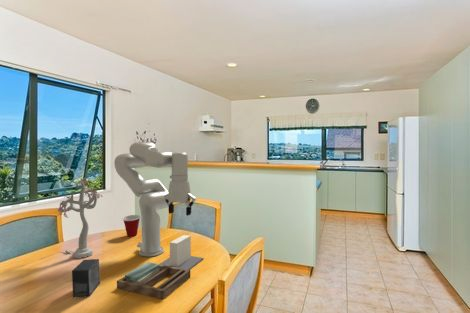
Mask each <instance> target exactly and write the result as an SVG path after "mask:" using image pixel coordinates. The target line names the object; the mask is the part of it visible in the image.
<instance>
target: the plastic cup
mask: <svg viewBox="0 0 470 313" xmlns="http://www.w3.org/2000/svg"><path fill="white" fill-rule="evenodd" d="M121 219H122V221H123V223H124V227H125V231H126V232H125V233H126V236H127V238H133V237H137V235H138V230H139V223H140V219H141V215H139V214H129V215H125V216H123V217H122V218H121Z"/></svg>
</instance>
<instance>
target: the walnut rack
mask: <svg viewBox="0 0 470 313" xmlns="http://www.w3.org/2000/svg"><path fill="white" fill-rule="evenodd" d="M159 267H160V272H159V273H157V274H156V275H154V276H153V277H151V278H150V279H148V280H147V281H145V282H144V283H142V284H137V283H132V282H128V281H127V279H125V276H123V277H122V278H120V279H118V280H117V281H116V289H119V290H123V291H126V292H129V293H130V292H131V293H135V294H138V295H139V294H140V295H144V296H148V297H154V298H156V299H157V298H158V299H160V300H161V299H162V300H164V299H166V298H167V297H168V296H169V295H171V294H172V293H173V292H174V291H176V290H177V289H178V288H179V287H180V286H181V285H183V283H185V282H186V281H187V280H189V279H190V278H191V269H190V270H187V269H181V268H176V267H170V266H165V265H159ZM169 275H171V276H170V277H169V278H168V279H166V280H165V281H163V282H162V283H161V284H159V285H157V283H159V282H160V281H162V280H164V278H166V277H168V276H169ZM155 285H157V287H155Z"/></svg>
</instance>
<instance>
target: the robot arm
mask: <svg viewBox="0 0 470 313" xmlns="http://www.w3.org/2000/svg"><path fill="white" fill-rule="evenodd" d="M188 160H189V158H188V153H187V152H178V151H177V152H176V151H158V149H157V146H156V145H155V143H153V142H150V141H149V142H148V141H147V142H145V141H137V142H133V143H132V144H131V145H130V146H129V153H122V154H119V155H117V156H116V157H115V159H114V162H113V163H114V168H115V172H116V173H117V174H118V176H119V177H120V178H121V179H122V180H123V181H124V182H125V183H126V185H127V186H128V187H129V189H130V190H131V191H132V193H133V194H134V196H136V197H138V198H139V200H138V206H139V209H140V210H139V211H140V219H141V222H140V223H141V242H138V243H137V244H136V248H140V249H139V250H138V254H139V256H141V257H146V258H147V257H155V256H160V255H161V254H163V253H164V251H165V249H164V247H162V246H161V244H162V242H161V236H162V235H161V217H160V215H159V214H158V212H157V211H158V210H163V209H166V208H168V214H169V215H170V214H173V213H174V211H175V209H174V203H177V204H184V205H186V208H185V211H186V212H185V214H186V217H187V216H190V215H192V207H193V205H194V204H196V203H195V202H196V201H197V197H195V195H193V194H191V186H190V185H191V184H190V181H189V178H188V176H189V175H188V174H189V173H188V171H189V169H188V167H189V166H188V165H189V163H188V162H189V161H188ZM146 165H148V166H150V167H153V168H158V169H161V168H171V175H169V179H171V180H170V181H169V184H168V189H167V188H166V187H165V186H164V185H163V183H162V182H161V181H160V180H159V179H158V178H154V177H153V178H144V177H143V176H141V174H140V173H139V172H138V171H136V170H135V169H139V168H144V167H146Z"/></svg>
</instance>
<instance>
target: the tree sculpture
mask: <svg viewBox="0 0 470 313" xmlns="http://www.w3.org/2000/svg"><path fill="white" fill-rule="evenodd" d="M85 179H86V177H84V178H82V179H81V180H79V181H78V182H77V183H76V186H75V187H76V189H78V186H79V184H80V186H81V189H80V191H79V197H78V198H79V199H78V200H74V195H77V194H76V193H72V194H69V195H66V196H64V197H63V199H64V198H65V199H66V200H62V201H61V202H60V203H59V207H58V210H57V211H58V213H59V215H60V216H62V215H63V216H64V218H70V217H69V216H68V215H67V212H69V211H74V212H77V213H79V216H80V219H81V223H82V229H81V230H80V231H81V232H80V234H79V237H78V247H77V248H76V249H75V250H74V251H72V250H69V249H66V250H64V251H65V252H66V253H67V254H70V252H71V253H72V258H74V257H75V258H74V259H83V258H82V257H85V258H88V257H90V255H91V256H92V255H93V252H94V251H93V250H94V249H93V248H91V247H89V246H88V234H89V224H88V221H87V219H86V217H85V209H87V210H92V209H94V208H95V207H96V205H97V201H98V200H99V199H100V197H101V198H103V195H101V194H100V193H98V191H97V190H96V189H97V187H94V188H93V189H92V188H91V186H90V185H88V184H87V181H86V180H85ZM88 179H89V180H90V178H88V177H87V180H88ZM86 187H87V188H86ZM90 191H91V193H90ZM84 196H87V198H88V200H84ZM68 205H69V206H68ZM74 205H79V208H77V207H75V206H74ZM67 206H68V207H67ZM65 252H64V253H65ZM87 256H88V257H87Z"/></svg>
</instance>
